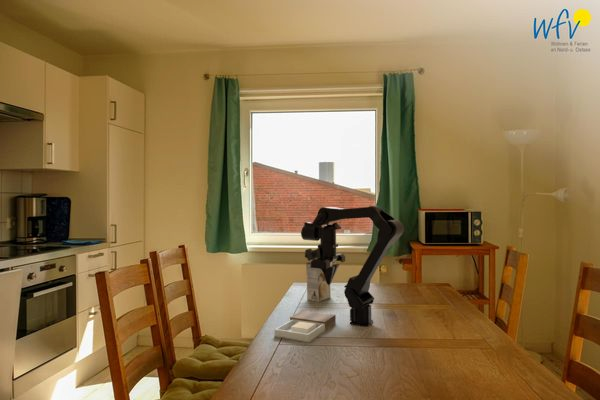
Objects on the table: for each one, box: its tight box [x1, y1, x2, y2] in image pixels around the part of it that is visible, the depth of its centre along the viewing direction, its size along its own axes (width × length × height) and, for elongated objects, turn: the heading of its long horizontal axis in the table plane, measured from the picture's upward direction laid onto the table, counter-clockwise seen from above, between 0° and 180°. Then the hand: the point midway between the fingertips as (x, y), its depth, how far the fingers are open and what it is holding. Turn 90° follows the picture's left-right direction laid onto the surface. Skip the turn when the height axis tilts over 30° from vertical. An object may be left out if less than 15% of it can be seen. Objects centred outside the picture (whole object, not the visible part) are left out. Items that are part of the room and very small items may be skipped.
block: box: [291, 322, 316, 334], centre depth 136 cm, size 6×6×2 cm
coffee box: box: [306, 261, 331, 303], centre depth 180 cm, size 9×6×16 cm
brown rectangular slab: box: [289, 310, 336, 332], centre depth 145 cm, size 13×9×3 cm
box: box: [274, 319, 326, 343], centre depth 135 cm, size 12×12×2 cm
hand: (328, 284), depth 153 cm, fingers closed
